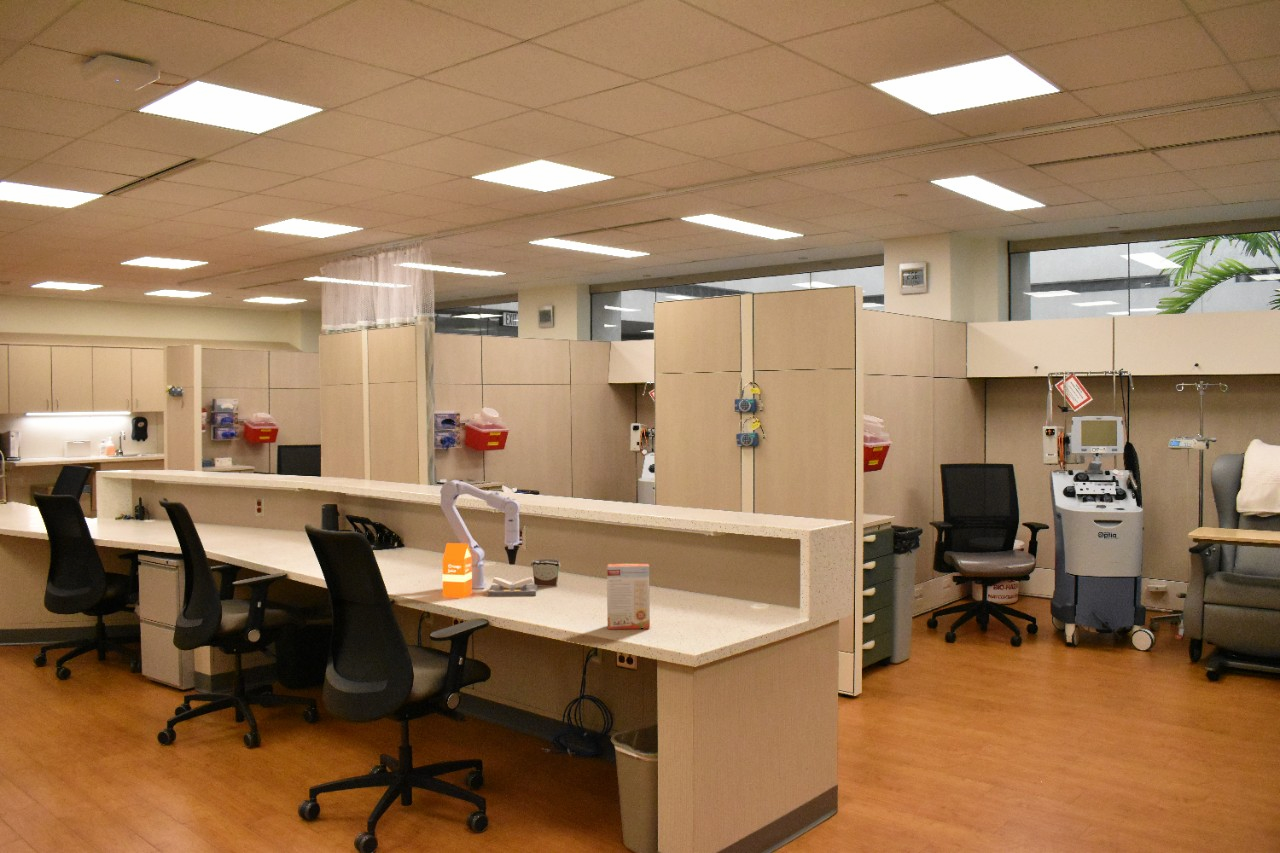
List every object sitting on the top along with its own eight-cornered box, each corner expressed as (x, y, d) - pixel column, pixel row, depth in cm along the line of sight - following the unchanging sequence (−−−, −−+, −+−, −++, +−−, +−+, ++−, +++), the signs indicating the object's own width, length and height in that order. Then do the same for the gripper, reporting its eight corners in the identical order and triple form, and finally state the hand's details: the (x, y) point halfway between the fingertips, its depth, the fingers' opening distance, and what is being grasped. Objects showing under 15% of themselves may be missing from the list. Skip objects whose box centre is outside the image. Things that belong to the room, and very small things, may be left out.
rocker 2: (515, 588, 370) (514, 584, 370) (516, 585, 375) (515, 581, 375) (532, 582, 370) (531, 578, 370) (533, 580, 375) (532, 576, 375)
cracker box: (649, 625, 320) (649, 562, 319) (649, 629, 314) (650, 566, 313) (607, 625, 319) (607, 562, 318) (607, 629, 313) (607, 566, 312)
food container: (564, 583, 390) (564, 559, 390) (559, 586, 384) (559, 562, 384) (536, 582, 393) (536, 558, 393) (530, 585, 387) (530, 560, 387)
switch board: (488, 596, 365) (488, 589, 365) (491, 589, 379) (491, 581, 379) (535, 595, 366) (535, 588, 366) (537, 588, 380) (537, 581, 380)
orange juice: (464, 597, 363) (464, 545, 362) (442, 596, 364) (442, 544, 364) (472, 593, 370) (471, 542, 370) (450, 592, 372) (450, 541, 371)
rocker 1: (492, 582, 369) (493, 578, 369) (493, 579, 374) (495, 576, 374) (509, 588, 370) (510, 584, 370) (510, 586, 375) (511, 582, 375)
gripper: (521, 532, 374) (521, 567, 374) (523, 527, 388) (523, 561, 389) (502, 532, 373) (502, 567, 374) (505, 527, 388) (505, 561, 388)
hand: (512, 564), depth 381 cm, fingers closed
